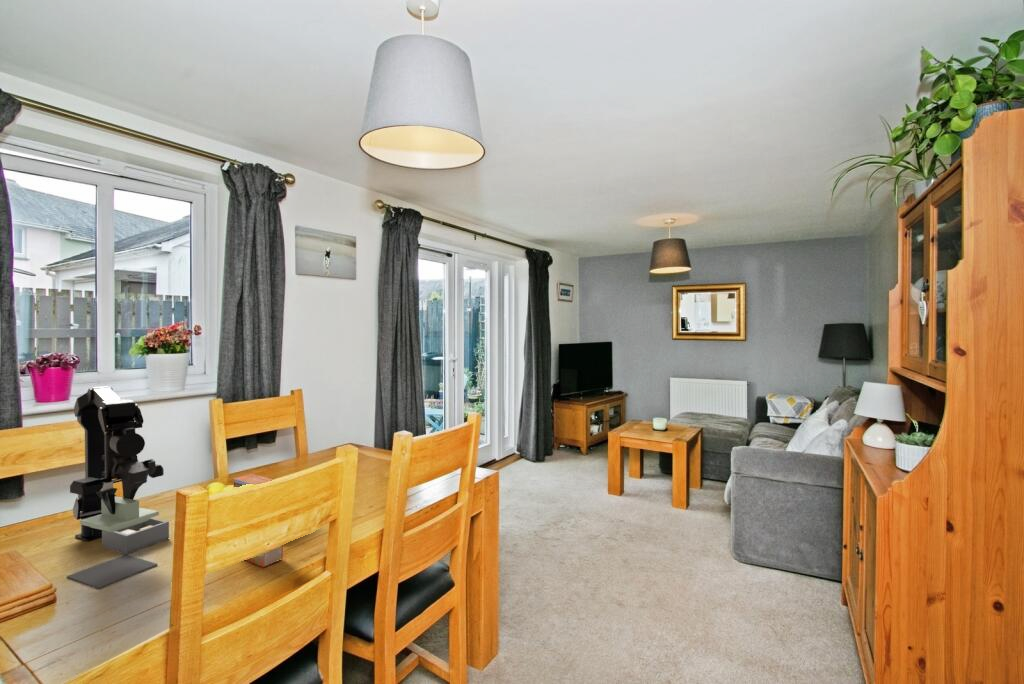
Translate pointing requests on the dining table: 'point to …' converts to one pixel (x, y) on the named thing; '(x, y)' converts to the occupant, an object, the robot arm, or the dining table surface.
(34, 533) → the dining table surface
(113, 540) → the storage box
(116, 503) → the lid
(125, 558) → the mat
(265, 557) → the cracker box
